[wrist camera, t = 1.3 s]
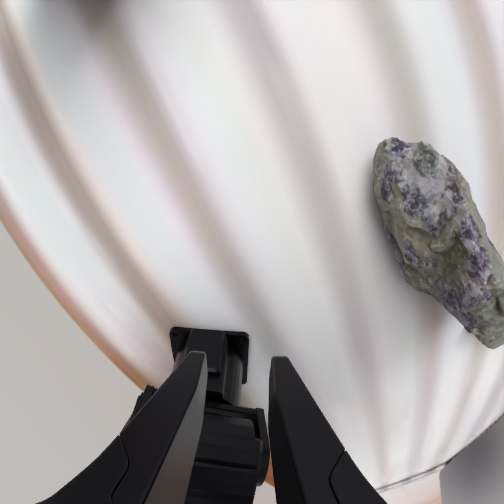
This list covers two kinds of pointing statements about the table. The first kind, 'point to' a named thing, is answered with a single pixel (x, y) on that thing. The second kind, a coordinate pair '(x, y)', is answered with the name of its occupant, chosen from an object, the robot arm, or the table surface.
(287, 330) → the table surface
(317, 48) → the table surface
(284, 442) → the robot arm
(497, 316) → the mineral rock
